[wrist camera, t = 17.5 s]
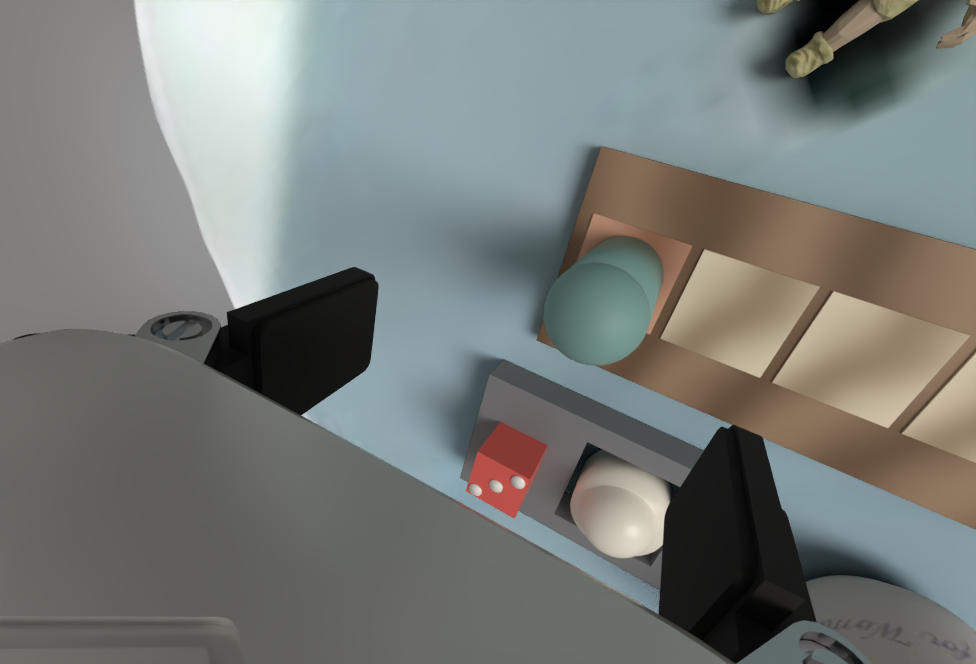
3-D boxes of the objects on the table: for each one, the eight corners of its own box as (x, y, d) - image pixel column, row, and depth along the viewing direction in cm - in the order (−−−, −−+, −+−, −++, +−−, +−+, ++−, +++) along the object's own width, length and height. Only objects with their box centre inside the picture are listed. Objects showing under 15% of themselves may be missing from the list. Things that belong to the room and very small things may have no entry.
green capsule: (571, 291, 25) (514, 349, 18) (602, 223, 23) (553, 255, 16) (639, 325, 24) (610, 402, 17) (679, 256, 22) (667, 309, 14)
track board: (541, 334, 28) (536, 340, 28) (604, 147, 23) (601, 146, 22) (988, 525, 21) (1001, 541, 21) (1236, 321, 16) (1269, 331, 15)
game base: (474, 458, 35) (435, 510, 30) (504, 359, 30) (463, 400, 25) (665, 562, 31) (659, 645, 25) (734, 464, 26) (744, 541, 21)
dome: (570, 492, 32) (549, 548, 27) (598, 433, 29) (580, 484, 24) (649, 534, 30) (640, 601, 25) (687, 475, 27) (685, 539, 23)
